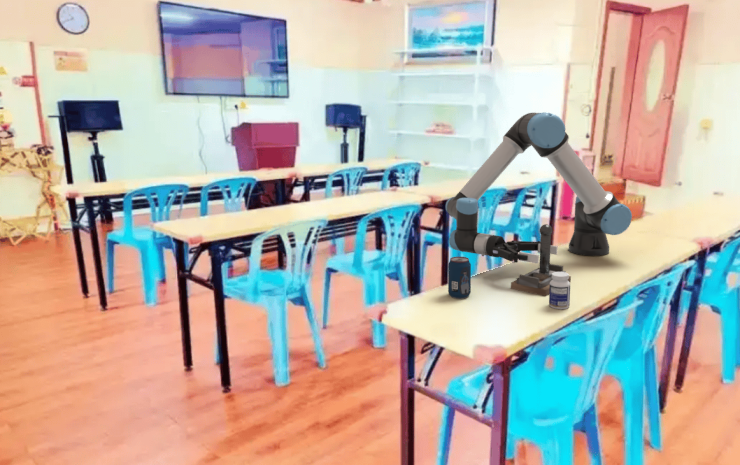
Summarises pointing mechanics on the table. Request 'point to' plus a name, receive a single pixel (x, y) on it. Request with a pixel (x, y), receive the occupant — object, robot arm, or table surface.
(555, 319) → the table surface
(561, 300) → the pill bottle
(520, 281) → the press base
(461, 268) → the soda can
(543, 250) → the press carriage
